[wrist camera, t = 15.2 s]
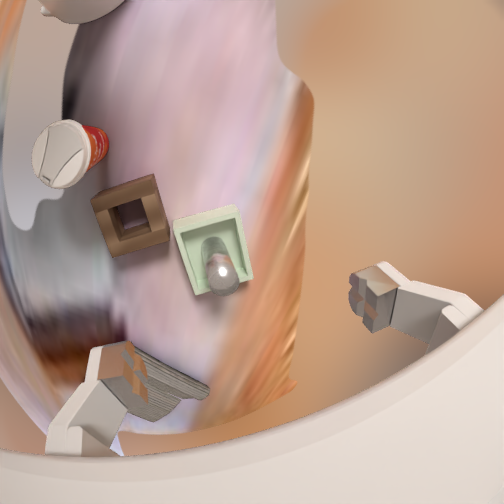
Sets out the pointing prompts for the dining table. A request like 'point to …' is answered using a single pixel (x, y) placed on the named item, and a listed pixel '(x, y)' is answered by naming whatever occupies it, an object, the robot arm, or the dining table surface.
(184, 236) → the tray
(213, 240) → the steel pin
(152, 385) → the mat
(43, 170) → the paper cup
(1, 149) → the dining table surface
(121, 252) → the socket block
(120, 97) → the dining table surface
